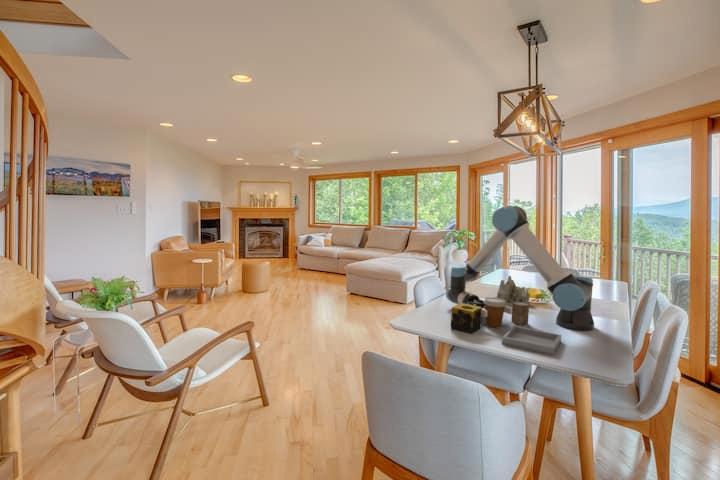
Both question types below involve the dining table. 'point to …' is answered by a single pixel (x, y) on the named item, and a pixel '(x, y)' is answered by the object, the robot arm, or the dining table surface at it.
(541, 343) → the slate tray
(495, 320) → the disposable coffee cup
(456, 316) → the tissue box
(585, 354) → the dining table surface
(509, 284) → the grey jagged rock
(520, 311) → the walnut block
